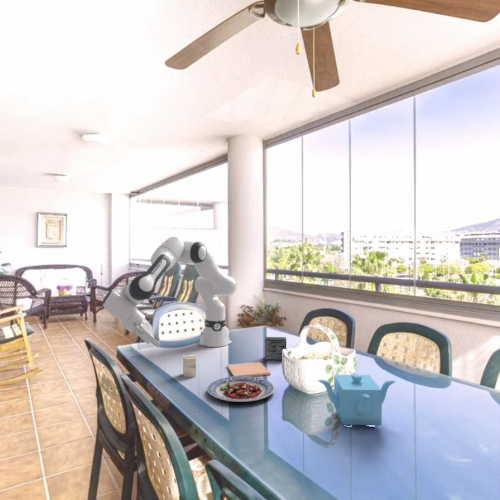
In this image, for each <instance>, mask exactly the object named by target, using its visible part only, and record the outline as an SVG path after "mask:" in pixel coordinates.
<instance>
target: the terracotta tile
mask: <svg viewBox="0 0 500 500" xmlns="http://www.w3.org/2000/svg"><path fill="white" fill-rule="evenodd" d="M226 368H227V369H228V371H229V372H230V374H231V375H232V377H234V376H249V377H263V375H265V376H271V372H270V371H269V370H268V368H267V367H266V366H264V364H263V363H262V362H260V361H256V362H255V361H254V362H245V363H244V362H243V363H232V364H231V363H230V364H226Z"/></svg>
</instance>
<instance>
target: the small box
mask: <svg viewBox="0 0 500 500" xmlns="http://www.w3.org/2000/svg"><path fill="white" fill-rule="evenodd" d="M264 342H265V343H264V355H265V357H264V360H265V361H266V360H267V362H268V361H273V362H275V361H278V362H282V361H281V360H282V350H283V349H286V350H287V337H286V336H285V337H284V336H283V337H282V336H265V338H264Z"/></svg>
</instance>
